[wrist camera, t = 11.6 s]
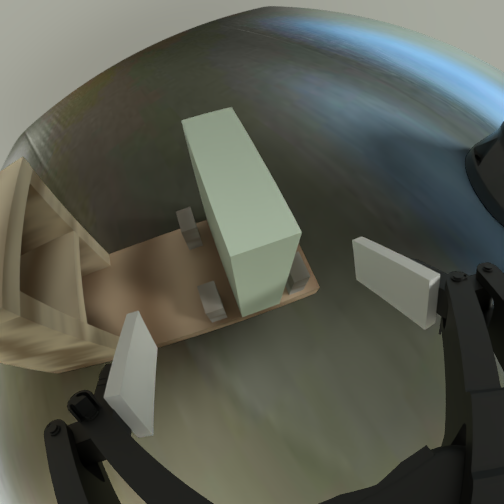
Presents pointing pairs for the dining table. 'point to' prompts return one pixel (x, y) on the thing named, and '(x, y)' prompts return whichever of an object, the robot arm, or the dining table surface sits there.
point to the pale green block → (242, 209)
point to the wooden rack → (105, 282)
